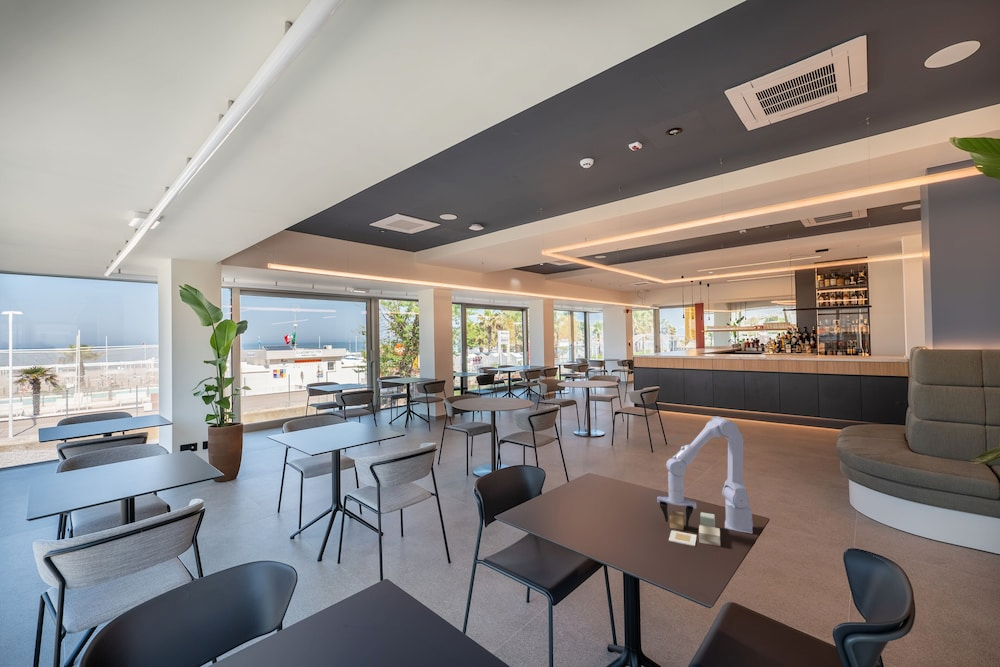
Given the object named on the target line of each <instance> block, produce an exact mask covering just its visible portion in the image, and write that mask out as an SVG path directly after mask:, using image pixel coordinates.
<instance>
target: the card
mask: <svg viewBox="0 0 1000 667" xmlns="http://www.w3.org/2000/svg"><path fill="white" fill-rule="evenodd" d="M668 542H673V543H676V544H681V545H687V546H692V547H696V542H697V534H693V533H690V532H689V533H687V532H683V531H678V530H671V531H670V534H669V538H668Z"/></svg>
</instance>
